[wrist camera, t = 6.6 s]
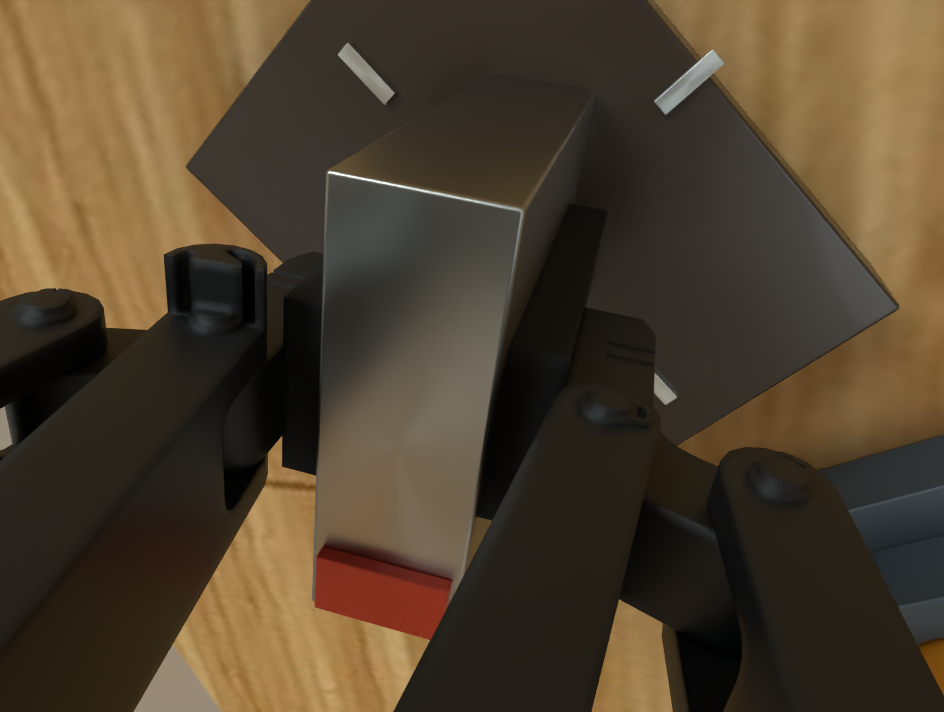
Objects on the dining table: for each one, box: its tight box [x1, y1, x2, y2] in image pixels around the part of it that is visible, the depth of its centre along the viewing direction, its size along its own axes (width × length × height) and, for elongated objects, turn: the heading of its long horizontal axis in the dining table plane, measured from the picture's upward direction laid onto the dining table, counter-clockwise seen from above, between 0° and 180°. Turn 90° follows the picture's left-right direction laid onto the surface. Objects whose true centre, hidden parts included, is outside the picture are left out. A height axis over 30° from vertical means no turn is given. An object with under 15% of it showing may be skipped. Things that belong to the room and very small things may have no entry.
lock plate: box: [186, 0, 899, 446], centre depth 18 cm, size 13×11×3 cm
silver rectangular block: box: [312, 74, 595, 640], centre depth 13 cm, size 6×2×9 cm, turn 172°
